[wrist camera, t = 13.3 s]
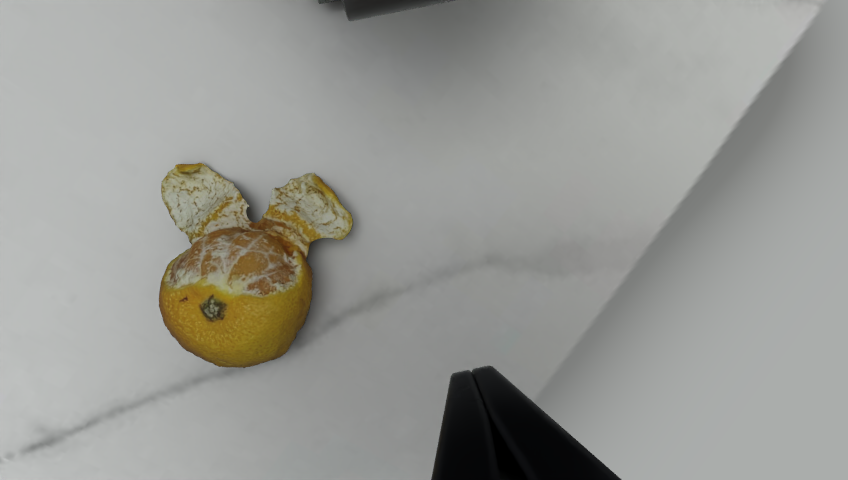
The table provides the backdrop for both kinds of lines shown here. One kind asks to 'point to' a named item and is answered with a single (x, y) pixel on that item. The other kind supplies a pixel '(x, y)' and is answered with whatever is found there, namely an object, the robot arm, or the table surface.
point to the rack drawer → (380, 6)
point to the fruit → (243, 264)
